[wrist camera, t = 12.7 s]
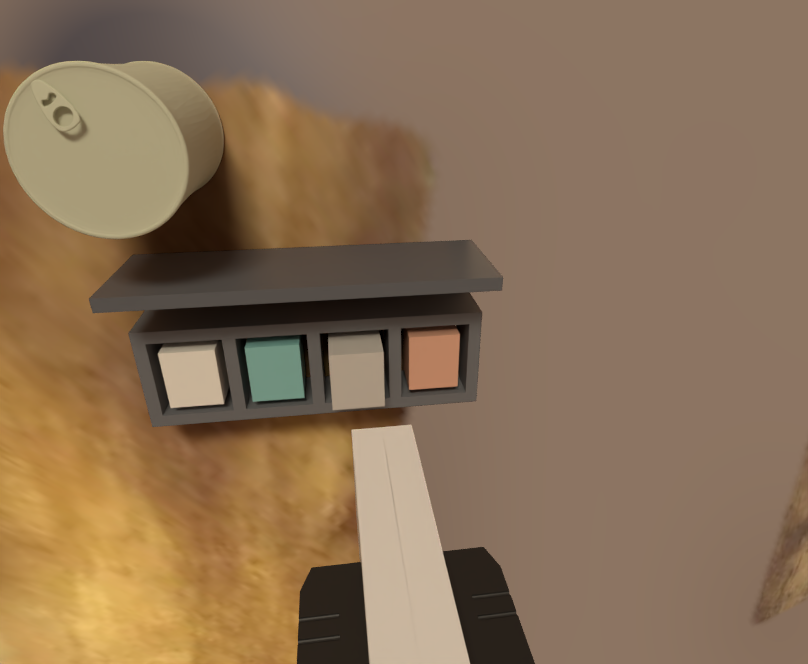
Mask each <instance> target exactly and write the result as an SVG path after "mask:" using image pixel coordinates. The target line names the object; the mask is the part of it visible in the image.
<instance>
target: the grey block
mask: <svg viewBox="0 0 808 664" xmlns="http://www.w3.org/2000/svg"><path fill="white" fill-rule="evenodd" d="M328 351H329V368H330V381H331V394H332V407H333V410H343V409H356V408H369V407H381V406H385V392H384V352H383V347H382V342H381V338H380V333H379V330H367V331H351V332H335V333H328Z"/></svg>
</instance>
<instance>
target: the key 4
mask: <svg viewBox="0 0 808 664" xmlns="http://www.w3.org/2000/svg"><path fill="white" fill-rule="evenodd" d="M459 343H460V334H459V332H458V330H457V328H456V326H455V325H447V326H431V327H415V328H403V369H404V372H405V376H406V380H407V384H408V387H409V390H415V389H428V388H441V387H454V386H458V364H459Z"/></svg>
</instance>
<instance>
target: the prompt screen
mask: <svg viewBox="0 0 808 664" xmlns="http://www.w3.org/2000/svg"><path fill="white" fill-rule="evenodd" d="M502 284H503V276H502V275H501V274H500V273H499V272H498V271H497V270H496V268H495V267H494V266H493V265H492V263H491V262H490V261H489V260H488V259H487V258H486V256H485V255H484V254H483V253H482V252H481V251H480V249H479V248H478V247H477V246H476V245H475V243H474V242H473V241H472V240H459V241H435V242H413V243H390V244H367V245H344V246H321V247H298V248H275V249H252V250H229V251H206V252H183V253H160V254H138V255H132V256H131V257H130V258H129V259H128V260H127V261H126V262H125V263H124V264H123V265H122V266H121V267H120V268H119V269H118V270H117V271H116V272H115V273H114V274H113V275H112V276H111V277H110V278H109V279H108V280H107V281H106V282H105V283H104V284H103V285H102V286H101V287H100V288H99V289H98V290H97V291H96V292H95V293H94V294H93V295H92V296H91V297H90V298H89V301H90V305H91V308H92V312H93V313H104V312H122V311H140V310H158V309H176V308H194V307H212V306H230V305H248V304H266V303H284V302H303V301H321V300H339V299H357V298H375V297H393V296H411V295H429V294H447V293H465V292H483V291H501V290H502Z"/></svg>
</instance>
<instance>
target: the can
mask: <svg viewBox="0 0 808 664" xmlns="http://www.w3.org/2000/svg"><path fill="white" fill-rule="evenodd" d="M3 131H4V144H5V150H6V154H7V157H8V161H9V163H10V166H11V168H12V171H13V173H14V175H15V177H16V178H17V180H18V182H19V184H20V185H21V186H22V188H23V189H24V191H25V192H26V193H27V195H28V196H29V197H30V198H31V199H32V200H33V201H34V202H35V204H36V205H38V206H39V207H40V208H41V209H42V210H43V211H44V212H45V213H47V214H48V215H49V216H51V217H52V218H53V219H55V220H56V221H58V222H60V223H61V224H63V225H65V226H67V227H69V228H71V229H73V230H75V231H77V232H80V233H83V234H86V235H90V236H93V237H98V238H105V239H127V238H133V237H138V236H141V235H144V234H147V233H149V232H151V231H153V230H155V229H157V228H159V227H160V226H162V225H163V224H164V223H166V222H167V221H168V220H169V219H170V218H171V217H172V216H173V215H174V214H175V212H176V211H177V210H178V208H179V207H180V205H181V204H182V203H183V202H184V201H185V200H186V199H187V198H188V197H189V196H190V195H191V194H192V193H193V192H194V191H196V190H198V189H199V188H201V187H202V186H204V185H205V184H206V183H207V182H208V181H209V180H210V179H211V178H212V176H213V175H214V174H215V172H216V170H217V169H218V167H219V164H220V162H221V158H222V155H223V148H224V134H223V128H222V123H221V120H220V117H219V114H218V112H217V110H216V108H215V106H214V104H213V102H212V101H211V99H210V98H209V96H208V95H207V94H206V92H205V91H204V90H203V89H202V88H201V87H200V86H199V85H198V84H197V83H196V82H195V81H194V80H193V79H191V78H190V77H189V76H187V75H186V74H184V73H182V72H181V71H179V70H177V69H175V68H173V67H171V66H168V65H165V64H161V63H157V62H151V61H137V62H130V63H126V64H100V63H94V62H88V61H67V62H60V63H56V64H52V65H49V66H47V67H44V68H42V69H40V70H38V71H37V72H35V73H33V74H32V75H31V76H29V77H28V78H27V79H26V80H25V81H23V83H22V84H21V85H20V86H19V87H18V88H17V90H16V91H15V92H14V94H13V96H12V98H11V99H10V102H9V104H8V107H7V110H6V114H5V119H4V129H3Z"/></svg>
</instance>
